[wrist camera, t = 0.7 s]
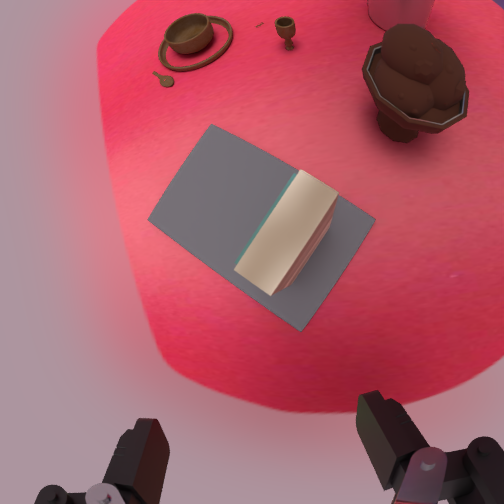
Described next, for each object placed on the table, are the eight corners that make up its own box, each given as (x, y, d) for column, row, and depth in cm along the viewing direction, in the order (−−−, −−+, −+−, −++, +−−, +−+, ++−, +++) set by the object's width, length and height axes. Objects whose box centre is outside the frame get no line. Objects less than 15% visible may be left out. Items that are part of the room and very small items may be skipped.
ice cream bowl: (373, 172, 30) (409, 101, 15) (343, 91, 31) (348, 1, 16) (450, 158, 28) (513, 98, 13) (417, 82, 29) (448, 3, 14)
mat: (150, 220, 35) (147, 219, 34) (213, 126, 34) (211, 123, 33) (301, 330, 30) (300, 332, 30) (374, 220, 29) (375, 219, 29)
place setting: (215, 6, 37) (204, -17, 31) (307, 47, 33) (303, 18, 27) (139, 70, 39) (120, 51, 33) (215, 127, 35) (198, 104, 29)
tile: (268, 268, 31) (229, 266, 17) (305, 212, 30) (296, 166, 17) (291, 284, 30) (270, 296, 17) (329, 227, 30) (339, 192, 16)
